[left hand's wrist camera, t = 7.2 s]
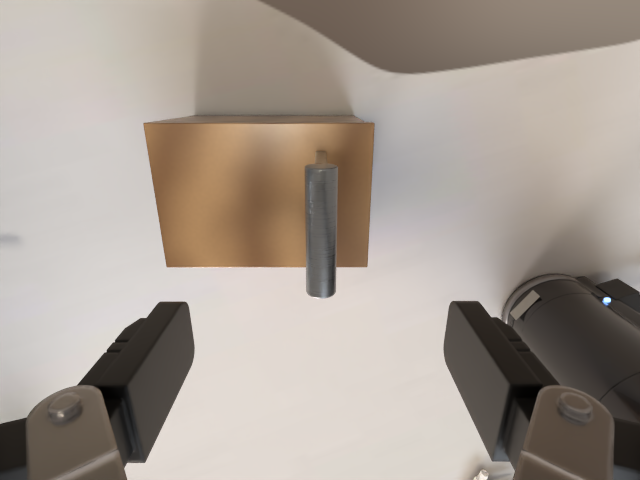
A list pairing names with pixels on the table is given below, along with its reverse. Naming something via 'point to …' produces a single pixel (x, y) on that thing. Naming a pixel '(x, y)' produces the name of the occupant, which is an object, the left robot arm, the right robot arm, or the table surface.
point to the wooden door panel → (264, 195)
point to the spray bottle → (482, 475)
